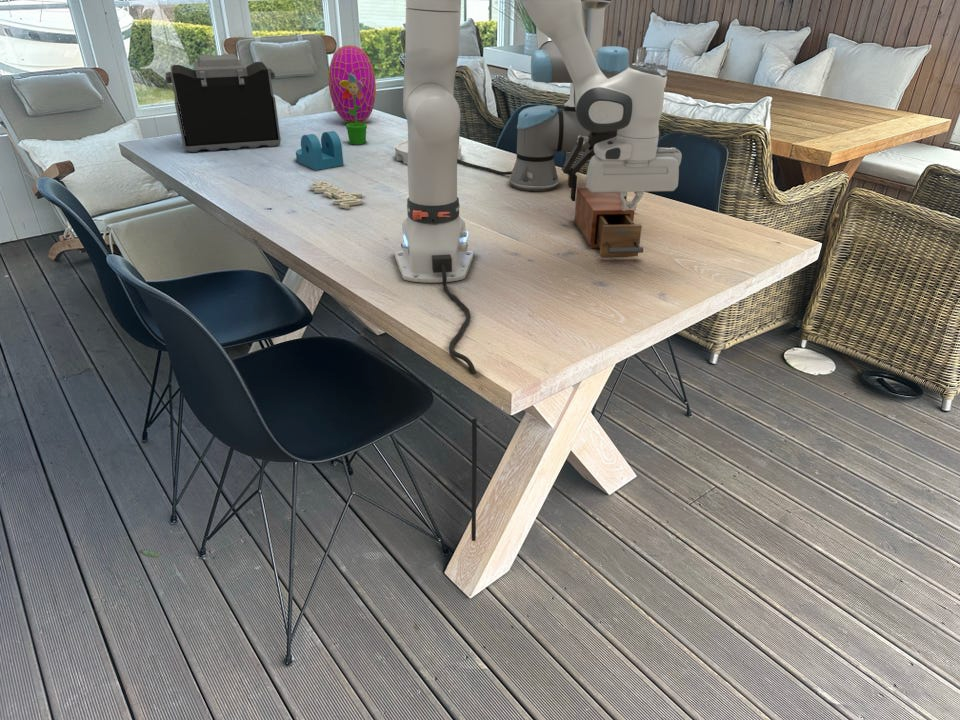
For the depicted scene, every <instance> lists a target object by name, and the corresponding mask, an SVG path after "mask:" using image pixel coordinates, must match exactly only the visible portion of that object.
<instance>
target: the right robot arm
mask: <svg viewBox="0 0 960 720" xmlns="http://www.w3.org/2000/svg"><path fill="white" fill-rule="evenodd" d="M611 3H612V0H581V4H582V22H583V28H584V32H585V35H586V38H587V40H588V43H589V45H590V47H591V50H592V52H593V54H594V57H595V59H596V61H597V64H598V66H599V67H600V69H601V71H602V72H603V73H604V74H605V75H607V76H608V77H609V78H611V77H614V76H616V75H618V74H619V73H621V72H623V71H624V70H626V69H627V68H628V67H629V66H630V61H629V60H630V59H629V58H630V51H629V48H626V47H624V46H623V47H622V46H616V45H615V46H613V45H608V46H603V42H604V41H603V39H604V28H605V15H606V14H605V13H606V9H607V8H608V7H609V6H610V4H611ZM535 33H536V45H537V46H536V47H537V50H536V49H535V50H533V51H532V52H531V57H530V78H531V80H532V81H533V82H534V83H544V84H570V85H569V98H568V100H567V101H566V102H565V103H563V110H562V111H561V110H559V109H558V107H557V106H556V105H553V104H551V105H547V104H543V105H535V106H529V107H526V108H523V109H522V110H521V111H520V112H519V114H518V119H517V125H516V129H517V136H516V159H515V162H514V165H513V168H512V171H511V170H510V171H500V170H497V169H494V168H491V167H486V166H482V165H478V164H474V163H470V162H467V161H465V160H462V159H460V160H459V159H457V163H459V164H461V165H464V166H467V167H472V168H473V169H479V170H483V171H487V172H490V173H494V174H496V175H497V174H498V175H502V176H508V175H510V177H509V185H510V187H512V188H513V189H515V190H516V189H517V190H519V191H525V192H548V191H551V190H552V191H553V190H554V189H557V188H558V186H559V176H558V171H557V167H556V163H555V152H563V153H564V152H565V153H567V152H569V155H568V157H566V160H565V161H564V164H563V165H562V167H561V171H562V172H563V174H564V175H567V176H568V177H567V187H568V188H569V189H570V197H569V198H570V200H571V202H576V194H577V187H578V176H577V173H578V172H579V171H580V170H581V168H582V167H583V166H584V165H585V164H586V163H587V162H588V161H590V160H591V158H592V157H593V156H595V153H594V145H595V144H596V143H599V142H602V141H605V140H608V139H611V138H614V137H616V136H617V130H614V131H608V132H600V133H595V132H590V131H588V130H586V129H585V128H583V127H582V126H581V125H580V123H579V121H578V119H577V116H576V109H575V106H574V86H573V82H572V79H571V77H570V74H569V72H568V70H567V68H566V65H565V63H564V61H563V59H562V57H561V54H560V52H559V50H558V49H557V47H556V45H555V44H554V43H553V42H552V40H551V39H550V38H549V37H547V36H546V35H545V34H544V33H542V32H541V31H540V30H539V29H538V28H537V27H536V26H535ZM581 152H583V154H582V155H581V156H580V157H579V158H578V159H577V157H578V155H579V154H580V153H581ZM576 159H577V160H576ZM624 198H625V199H626V200H627V198H628V195H627V196H624Z"/></svg>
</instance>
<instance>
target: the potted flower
mask: <svg viewBox="0 0 960 720" xmlns="http://www.w3.org/2000/svg"><path fill="white" fill-rule="evenodd" d="M348 78H349V81H346V80H342V81H341V82H340V83H339V84H340V85H341V86H342V87H343V88H346V89H347V90H345V91H344V93H343V94H342V97H341V99H348V98H350V97H351V96H352V95H353V100H354V110H349V111H348V112H349V114H351V115H355V123H349V122H348V123H347V124H346V125H345V128H346V131H347V136H348V141H349V144H352V145H363V144H366V143H367V129H368V124H367V123H366V122H365V123H364V122H361V123H357V116H356V110H358V109H359V106H356V103H355V95H356V97H357V98H358V99H359V100H362V98H363V93H362V92H361V91H360V90H361V89H363V84H362V82H361V81H358V82H357V83H356V78H355V76H354V75H352V74H350V73H348Z"/></svg>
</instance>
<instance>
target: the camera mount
mask: <svg viewBox="0 0 960 720" xmlns="http://www.w3.org/2000/svg"><path fill="white" fill-rule="evenodd" d="M343 155H344V154H343V145H342V140H341V137H340V136H339V134H338V133H337V131H334V130H330V131H324V132H322V133H321V137H320V139H319V137H318V136H317V134H314V133H310V134H309V133H308V134H304V135H302V136H301V137H300V148H298V149H296V151H295V157H296V162H297V163H299V164H301V165H303V166H305V167H308V168H309V169H312V170H314V171H319V170H324V169H330V168H336V167H342V166H344V156H343Z"/></svg>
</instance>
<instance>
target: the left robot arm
mask: <svg viewBox="0 0 960 720" xmlns="http://www.w3.org/2000/svg"><path fill="white" fill-rule="evenodd" d="M520 1H521V4H522V6H523V8H524V10H525V12H526V14H527V15H528V16H529V18H530V19H531V21H532V23H533V24H534V25H535V28H536V27H537V28H538V29H539V30H540V31H541V32H542V33H544V34H545V35H546V36H547V37H549V38H550V39H551V40H552V42H553V43H554V44H555V45H556V47H557V49H558V50H559V52H560V54H561V57H562V59H563V61H564V63H565V65H566V68H567V70H568V72H569V74H570V77H571V79H572V82H573V86H574V106H575V109H576V116H577V119H578V121H579V123H580V125H581V126H582V127H583V128H585V129H586V130H588V131H590V132H595V133H600V132H608V131H614V130H617V136H616V137H614V138H611V139H608V140H605V141H602V142H599V143H596V144H595V145H594V153H595V154H594V155H593V156H592V157H590V159H589V162H588V165H587V171H586V175H585V187H587V188H588V190H589V191H590V192H618V195H619V197H620V199H621V201H622V206H621V209H622V211H635V212H636V211H637V205H638V203H639V202H640V201H641V199H642V198H643V196H644V192H674V191H675V190H676V189H677V188H678V186H679V177H680V165H681V163H682V158H683V155H682V152H681V151H680V150H679V149H678V148H677V147H674V146H673V147H671V146H670V147H658V145H659V137H660V128H659V124H660V119H661V117H662V115H663V109H664V100H665V99H664V97H665V79H664V77H663V76H662V74H661V73H660V72H659V71H657V70H656V69H653V68H651V67H648V66H643V65H635V64H634V65H629V66H628V68H627V69H626V70H624V71H623V72H621V73H619V74H618V75H616V76H614V77H611V78H609V77H608V76H607V75H605V74H604V73H603V72H602V71H601V69H600V67H599V66H598V64H597V61H596V59H595V57H594V54H593V52H592V50H591V47H590V45H589V43H588V40H587V38H586V35H585V32H584V28H583V22H582V4H581V0H520ZM461 10H462V0H405V47H404V48H405V51H404V53H405V54H404V69H403V87H402V89H403V90H402V91H403V92H402V94H403V95H402V109H403V113H404V115H405V119H406V123H407V140H408V164H406V166H407V184H408V186H407V187H408V198H407V199H406V211H407V213H406V214H407V217H406V218H405V219H404V220H403V221H402V223H401V231H402V242H401V244H400V247H401V249H400V250H397V251H395V252H394V259H395V262H396V264H397V267H398V269H399V272H400V274H401V277H402V279H403V280H405V281H408V282H414V283H431V284H433V283H435V284H437V283H442V288H443V291H444V293H445V295H447V296H448V297H449V298H450V299H452V300H453V301H454V302H455V303H456V304H457V305H458V306H459V307H460V308H461V309H462V310H463V311H464V313H465V319H464V321H463V323H462V324H461V327H460V328H459V330H458V331H457V333H456V334H455V335H454V337H453V338H452V339H451V341H450V342H449V345H448V349H449V353H450V354H451V355H452V356H453V357H455V358H457V359H460V360H462V361H463V362H464V363H466V365H467V366H468V368H469V371H470V374H471V375H473V376H475V375H476V374H477V371H476V368H475V365H474V364H473V362H472V360H471V359H470V358H469V357H468V356H466V355H464V354H463V353H460V352H458V351H456V349H455V344H456V343H457V342H458V340H459V339H460V338H461V337H462V335H463V334H464V332H465V329H466V328H467V326H468V325H469V323H470V321H471V312H470V308H468V306H467V305H466V304H464V302H463V301H461V300H460V299H459V298H458V297H457V296H456V295H455V294H453V293H452V292H450V290H449V288H448V283H451V282H457V281H461V280H464V279H466V277H467V274H468V273H469V269H470V267H471V265H472V262H473V260H474V257H475V251H473V250H471V249H468V245H469V243H468V242H467V239H468V236H469V231H466V221H465V220H464V219H463V218H461V216H460V208H461V207H460V206H461V205H460V198H459V197H458V162H457V158H458V149H459V144H460V138H461V137H460V135H461V120H462V119H461V117H462V116H461V108H460V104H459V103H458V101H457V99H456V98H455V95H454V90H455V81H456V71H457V65H458V60H459V55H460V40H461V38H460V37H461V16H462V15H461V13H462V12H461ZM631 192H632V193H633V194H634V195H635V196H634V197H633V198H632V200H629V201H626V200H627V199H626V200H625V198H624V196H627V197H628V193H631ZM477 428H478V422H477V418H472V419H471V527H470V528H471V533H470V534H471V535H470V537H471V540H470V541H472V542H475V541H477V476H478V475H477V473H478V472H477V469H478V467H477V466H478V462H477V461H478V433H477V432H478V429H477Z"/></svg>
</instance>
